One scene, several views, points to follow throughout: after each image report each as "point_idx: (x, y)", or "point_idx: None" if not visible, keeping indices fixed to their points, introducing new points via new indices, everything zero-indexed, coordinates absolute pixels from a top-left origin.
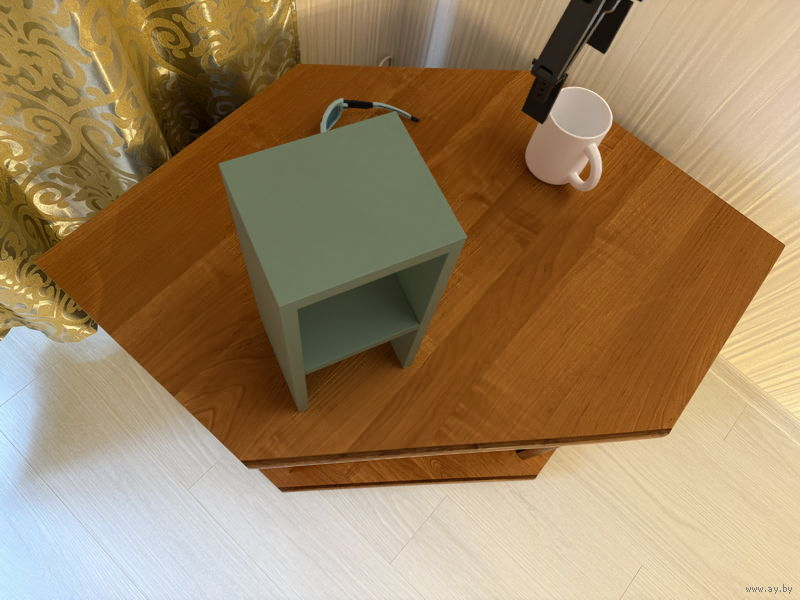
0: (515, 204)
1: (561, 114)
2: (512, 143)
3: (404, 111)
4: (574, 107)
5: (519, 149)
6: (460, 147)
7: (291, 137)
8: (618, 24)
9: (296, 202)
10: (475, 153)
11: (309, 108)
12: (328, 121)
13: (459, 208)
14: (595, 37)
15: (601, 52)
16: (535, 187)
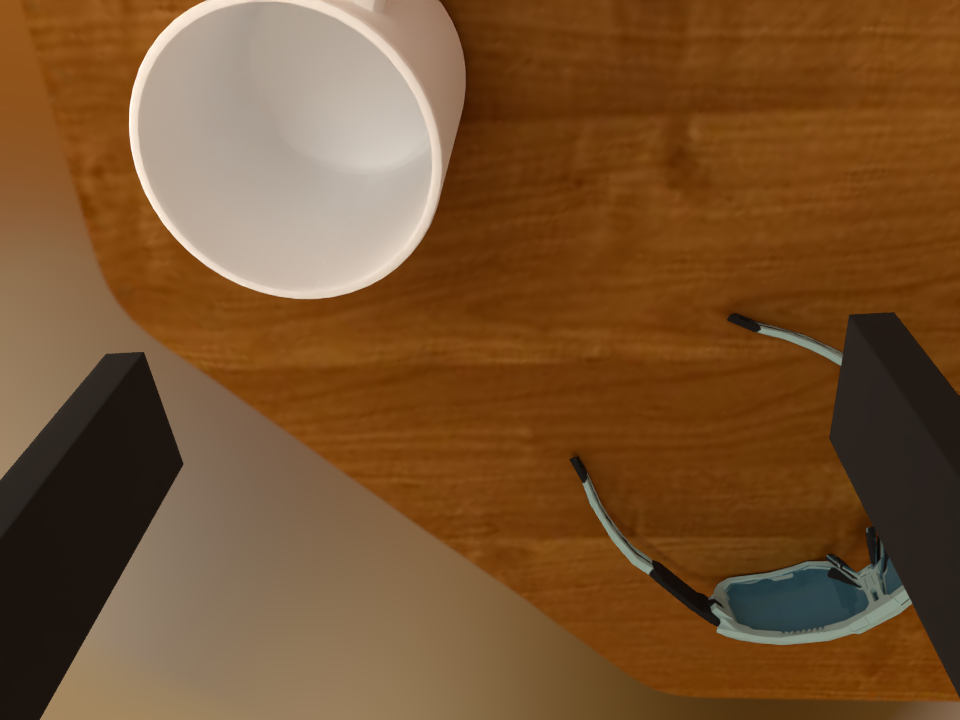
0: (614, 52)
1: (253, 193)
2: None
3: (590, 502)
4: (212, 182)
5: None
6: (554, 325)
7: None
8: (40, 504)
9: None
10: (538, 280)
11: None
12: (771, 598)
13: (762, 185)
14: (145, 468)
15: (148, 370)
16: (495, 45)
